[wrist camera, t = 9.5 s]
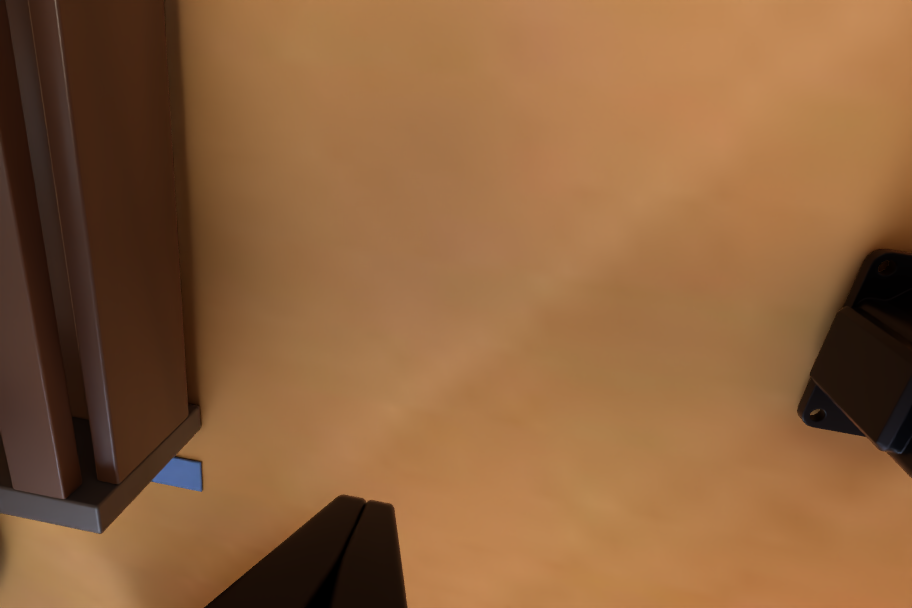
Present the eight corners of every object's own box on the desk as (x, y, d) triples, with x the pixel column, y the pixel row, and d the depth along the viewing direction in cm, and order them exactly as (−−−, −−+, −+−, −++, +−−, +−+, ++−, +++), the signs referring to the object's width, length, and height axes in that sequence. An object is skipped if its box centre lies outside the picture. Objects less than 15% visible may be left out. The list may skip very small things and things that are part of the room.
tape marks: (166, -208, 15) (164, -210, 15) (202, 490, 25) (201, 491, 25) (-166, -249, 16) (-169, -251, 16) (-4, 448, 25) (-7, 449, 25)
